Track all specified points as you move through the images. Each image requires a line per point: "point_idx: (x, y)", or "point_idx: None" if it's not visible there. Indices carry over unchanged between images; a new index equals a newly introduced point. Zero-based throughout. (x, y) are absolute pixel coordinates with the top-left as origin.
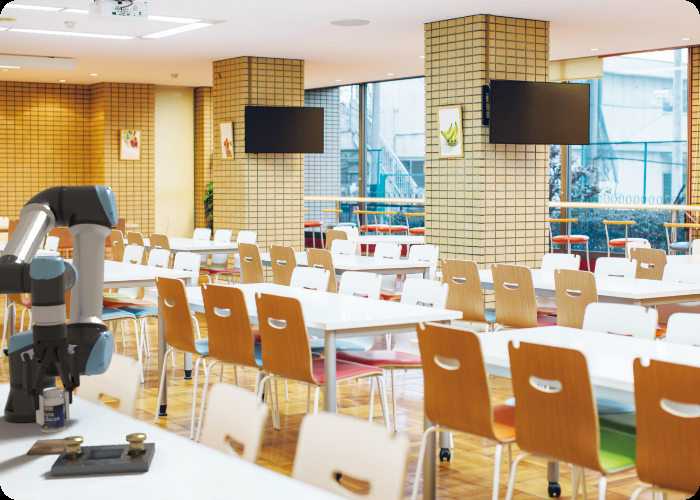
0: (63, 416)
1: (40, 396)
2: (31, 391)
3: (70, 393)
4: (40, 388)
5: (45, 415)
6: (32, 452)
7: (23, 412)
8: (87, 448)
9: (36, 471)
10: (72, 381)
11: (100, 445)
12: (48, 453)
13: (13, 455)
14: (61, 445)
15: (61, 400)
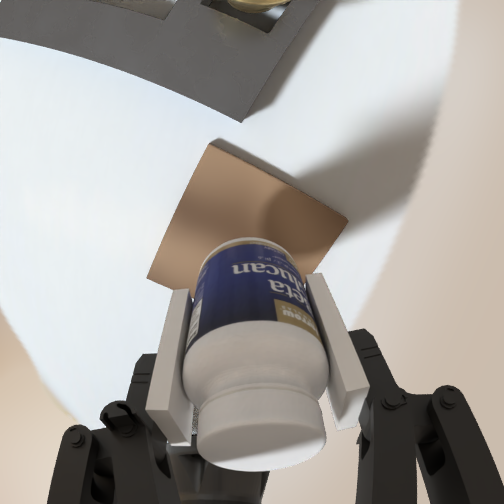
0: (206, 285)
1: (360, 394)
2: (440, 410)
3: (135, 405)
4: (380, 442)
5: (306, 301)
6: (334, 211)
7: None
8: (168, 51)
9: (376, 30)
10: (110, 476)
11: (112, 66)
12: (286, 183)
13: (373, 243)
14: (223, 230)
15: (209, 354)
